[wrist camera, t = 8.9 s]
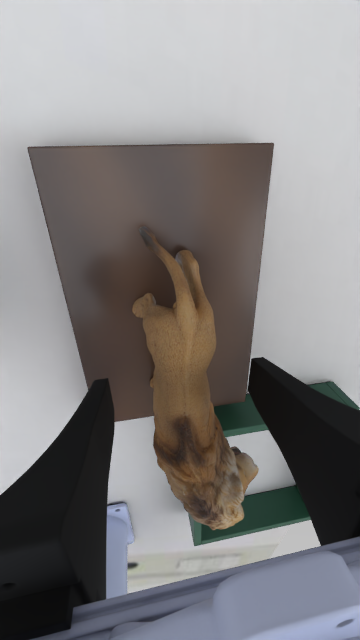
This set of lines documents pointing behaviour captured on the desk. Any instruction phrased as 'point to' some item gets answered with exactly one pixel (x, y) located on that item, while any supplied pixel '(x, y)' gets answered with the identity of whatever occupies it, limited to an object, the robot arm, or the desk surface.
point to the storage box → (269, 505)
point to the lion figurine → (190, 398)
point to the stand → (144, 265)
